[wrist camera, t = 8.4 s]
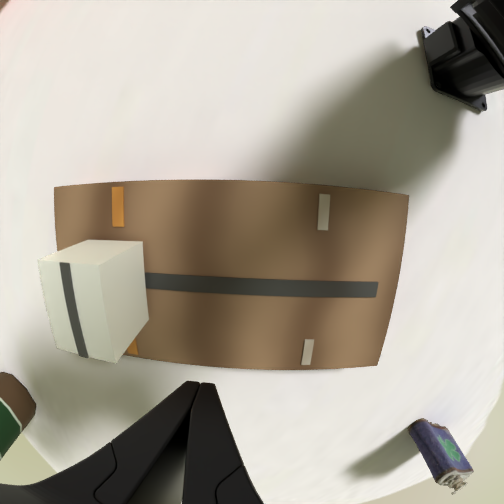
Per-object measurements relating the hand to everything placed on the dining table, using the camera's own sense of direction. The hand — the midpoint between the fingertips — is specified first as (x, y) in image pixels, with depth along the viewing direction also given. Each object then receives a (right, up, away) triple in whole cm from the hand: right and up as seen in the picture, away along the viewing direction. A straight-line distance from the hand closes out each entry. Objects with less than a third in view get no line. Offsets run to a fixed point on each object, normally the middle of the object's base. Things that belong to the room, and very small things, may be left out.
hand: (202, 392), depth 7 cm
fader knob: (-7, +2, +8) cm, 11 cm away
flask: (+23, -18, +16) cm, 33 cm away
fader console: (-1, +3, +11) cm, 12 cm away
